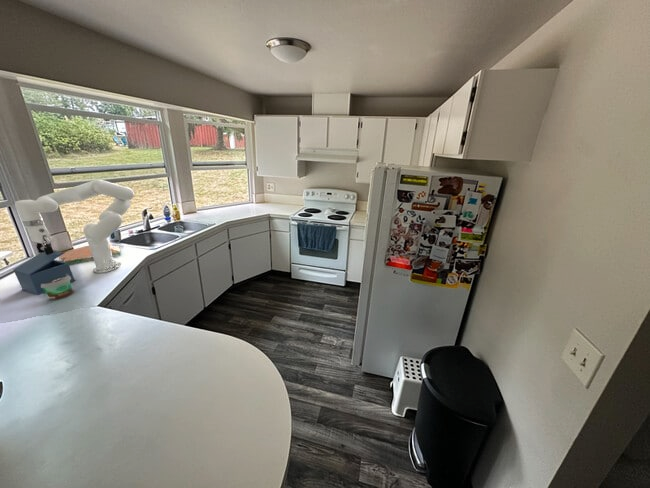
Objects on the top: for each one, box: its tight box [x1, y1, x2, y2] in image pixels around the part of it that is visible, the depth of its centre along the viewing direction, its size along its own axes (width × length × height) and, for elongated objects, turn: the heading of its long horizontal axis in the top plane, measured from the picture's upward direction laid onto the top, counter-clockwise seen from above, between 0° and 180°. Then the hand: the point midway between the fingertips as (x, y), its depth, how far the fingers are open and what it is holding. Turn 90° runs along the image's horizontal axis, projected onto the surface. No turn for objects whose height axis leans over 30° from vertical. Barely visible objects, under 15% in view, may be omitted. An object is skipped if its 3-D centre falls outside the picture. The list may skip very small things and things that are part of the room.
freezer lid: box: [12, 247, 64, 275], centre depth 139 cm, size 17×15×5 cm
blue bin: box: [13, 259, 76, 295], centre depth 144 cm, size 17×15×12 cm
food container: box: [41, 274, 73, 301], centre depth 134 cm, size 12×6×10 cm, turn 168°
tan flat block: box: [58, 243, 121, 266], centre depth 184 cm, size 23×33×8 cm
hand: (46, 252), depth 143 cm, fingers closed on freezer lid, 6 cm apart
